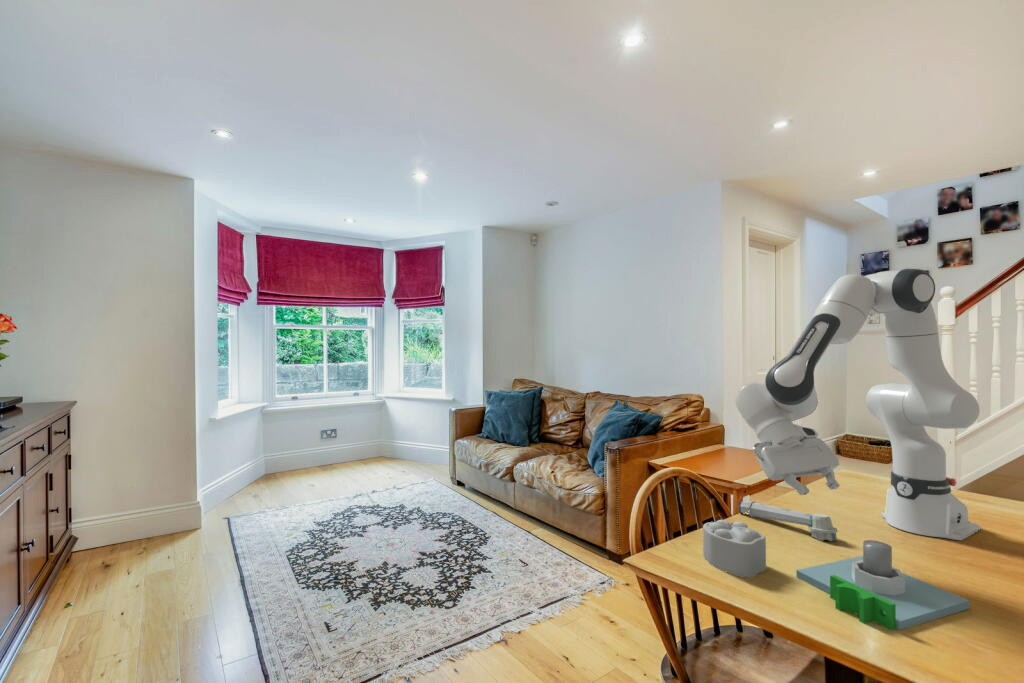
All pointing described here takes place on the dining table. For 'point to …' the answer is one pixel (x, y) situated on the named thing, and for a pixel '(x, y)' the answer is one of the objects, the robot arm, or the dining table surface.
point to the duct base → (905, 603)
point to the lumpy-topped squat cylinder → (734, 548)
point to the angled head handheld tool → (793, 518)
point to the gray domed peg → (877, 558)
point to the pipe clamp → (862, 603)
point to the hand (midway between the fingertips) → (820, 490)
